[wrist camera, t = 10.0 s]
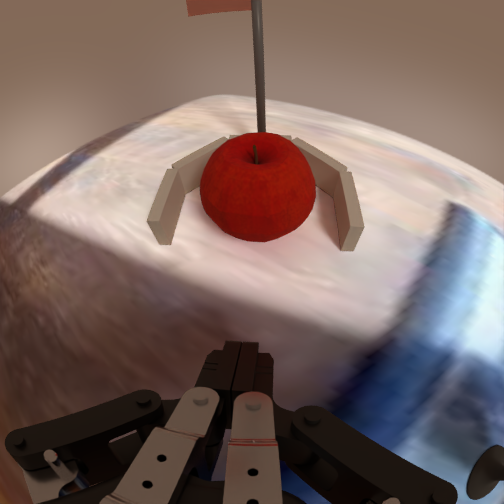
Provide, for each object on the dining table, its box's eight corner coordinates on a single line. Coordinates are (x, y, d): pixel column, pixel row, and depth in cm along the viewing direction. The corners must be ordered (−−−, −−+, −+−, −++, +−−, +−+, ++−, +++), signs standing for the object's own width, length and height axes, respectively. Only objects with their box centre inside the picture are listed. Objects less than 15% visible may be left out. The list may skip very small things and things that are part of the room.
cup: (353, 251, 20) (431, -5, 4) (159, 244, 21) (63, 15, 6) (333, 149, 26) (353, -16, 11) (192, 147, 28) (161, -11, 12)
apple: (238, 176, 25) (230, 106, 18) (321, 201, 22) (335, 128, 16) (191, 242, 21) (164, 169, 15) (288, 280, 19) (298, 207, 12)
